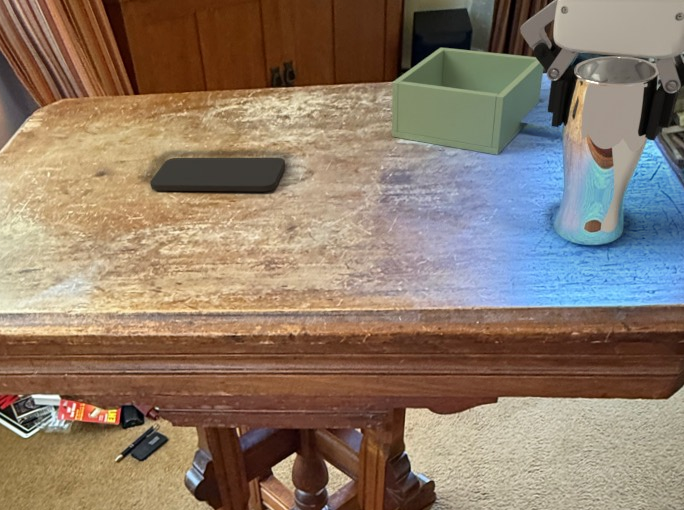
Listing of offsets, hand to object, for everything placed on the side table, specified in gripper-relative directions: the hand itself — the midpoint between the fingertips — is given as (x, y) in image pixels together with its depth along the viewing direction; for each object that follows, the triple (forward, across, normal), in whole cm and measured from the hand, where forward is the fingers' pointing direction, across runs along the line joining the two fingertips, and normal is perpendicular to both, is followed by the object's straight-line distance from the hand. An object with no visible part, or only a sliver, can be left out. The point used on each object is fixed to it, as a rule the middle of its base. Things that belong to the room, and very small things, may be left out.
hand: (605, 125), depth 62 cm
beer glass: (+10, 0, 0) cm, 10 cm away
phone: (+10, +40, +6) cm, 42 cm away
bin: (+11, +20, -19) cm, 30 cm away
